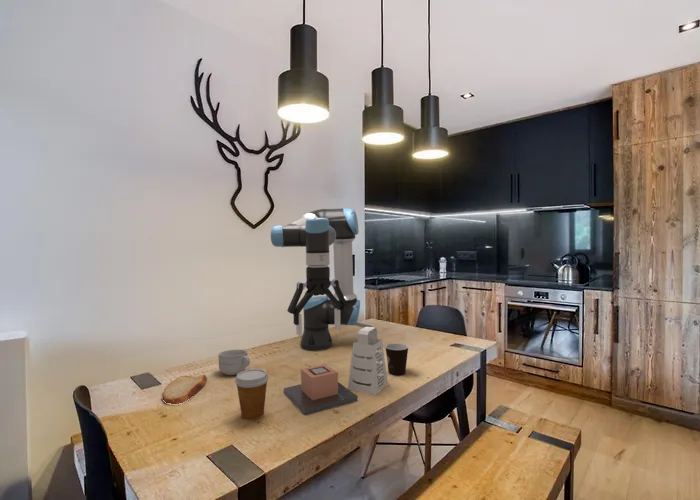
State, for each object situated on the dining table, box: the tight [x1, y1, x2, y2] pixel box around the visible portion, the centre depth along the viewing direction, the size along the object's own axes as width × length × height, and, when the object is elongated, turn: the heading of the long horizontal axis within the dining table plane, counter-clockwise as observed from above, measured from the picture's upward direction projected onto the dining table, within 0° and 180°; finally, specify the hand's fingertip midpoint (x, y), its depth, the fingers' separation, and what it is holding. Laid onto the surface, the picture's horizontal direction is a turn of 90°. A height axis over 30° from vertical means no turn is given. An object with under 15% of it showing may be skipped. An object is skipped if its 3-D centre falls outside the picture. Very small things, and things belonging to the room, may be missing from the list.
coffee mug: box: [384, 342, 409, 377], centre depth 140 cm, size 12×9×10 cm
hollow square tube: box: [300, 363, 339, 400], centre depth 119 cm, size 9×9×7 cm
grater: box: [347, 326, 389, 396], centre depth 127 cm, size 10×10×20 cm
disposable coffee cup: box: [234, 368, 270, 421], centre depth 107 cm, size 10×10×12 cm
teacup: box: [217, 348, 251, 376], centre depth 140 cm, size 14×11×8 cm
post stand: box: [283, 368, 359, 416], centre depth 119 cm, size 18×18×8 cm
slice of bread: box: [162, 374, 208, 404], centre depth 125 cm, size 18×18×4 cm
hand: (318, 331), depth 118 cm, fingers open, 13 cm apart
